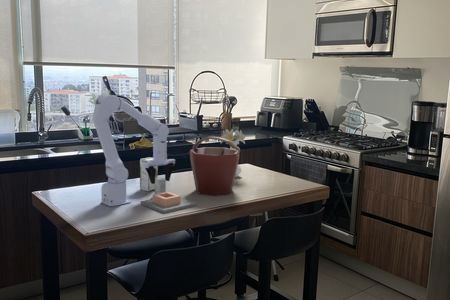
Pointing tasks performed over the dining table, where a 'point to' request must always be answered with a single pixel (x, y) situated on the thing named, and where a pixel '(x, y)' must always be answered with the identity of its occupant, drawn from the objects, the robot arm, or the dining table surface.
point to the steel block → (160, 185)
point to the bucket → (214, 168)
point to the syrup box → (146, 175)
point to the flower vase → (235, 138)
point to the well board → (167, 202)
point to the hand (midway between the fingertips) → (160, 182)
